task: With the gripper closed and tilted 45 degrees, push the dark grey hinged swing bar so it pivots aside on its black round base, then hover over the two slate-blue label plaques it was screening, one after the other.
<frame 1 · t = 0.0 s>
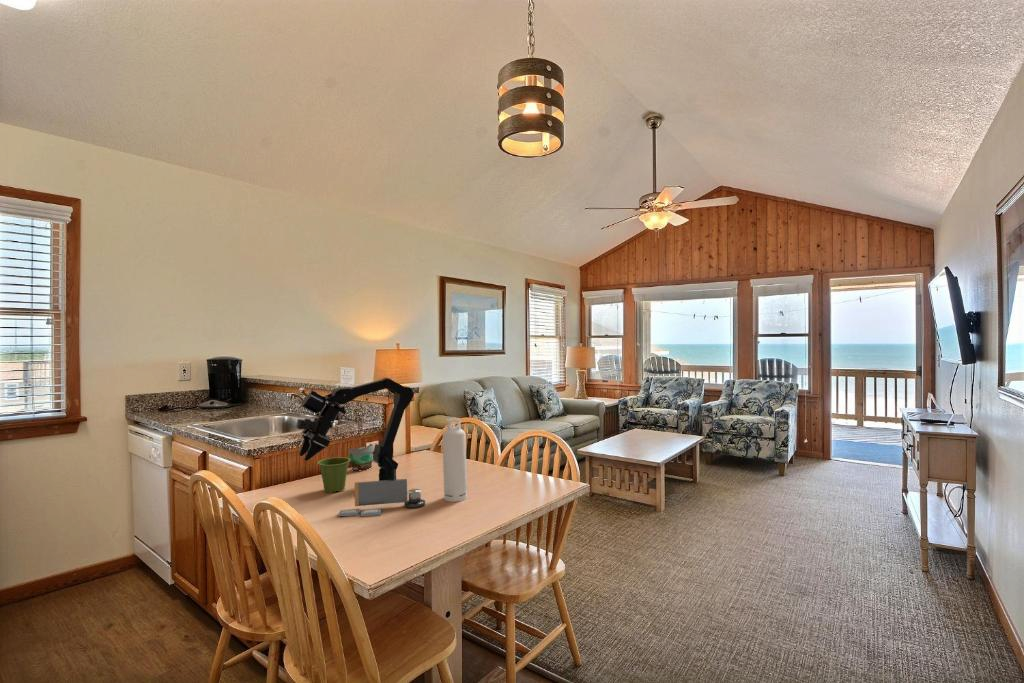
hand: (302, 458, 180), 15 cm above the table, tool tilted 35°, fingers open, 9 cm apart
label plaque a: (371, 514, 162), on the table
swing bar: (388, 492, 169), point 5 cm above the table, hinge at 0.0°
label plaque b: (349, 514, 163), on the table
plant pot: (334, 490, 190), on the table
bottle: (455, 498, 177), on the table
food container: (364, 469, 220), on the table
pivot base: (414, 505, 170), on the table
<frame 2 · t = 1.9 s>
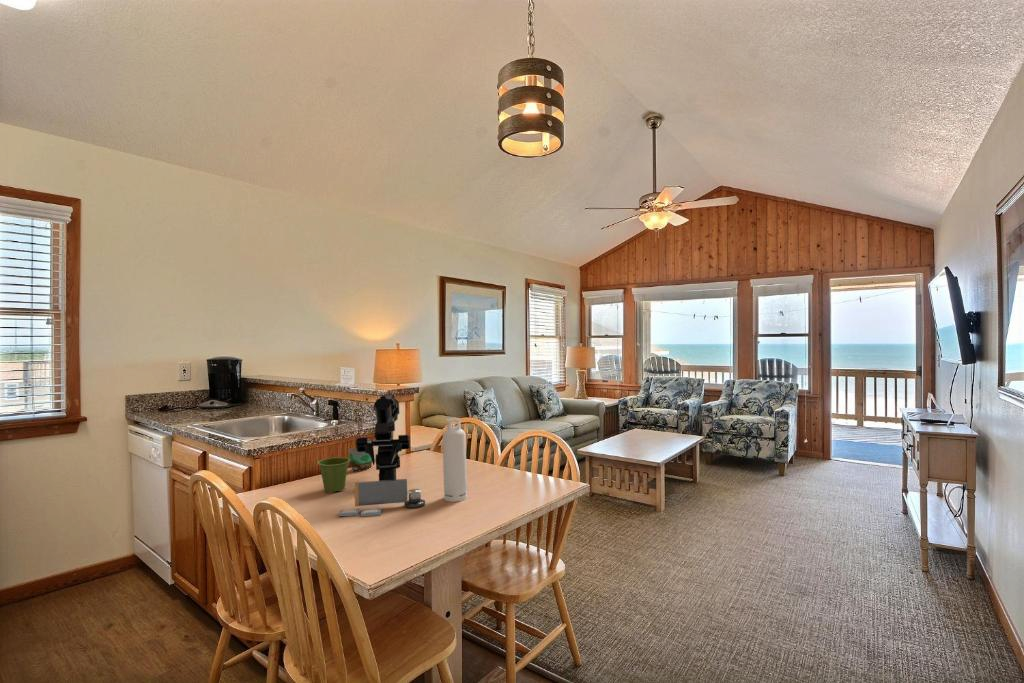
hand: (382, 463, 174), 14 cm above the table, tool tilted 45°, fingers open, 6 cm apart
nothing on the table moved.
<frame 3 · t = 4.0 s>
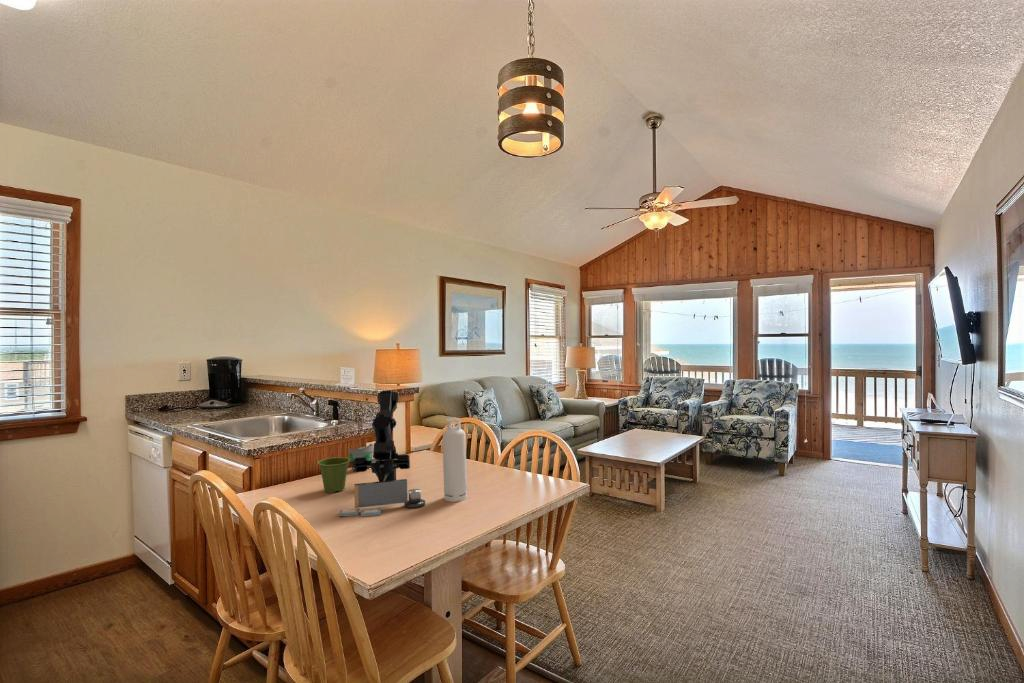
hand: (381, 484, 168), 8 cm above the table, tool tilted 45°, fingers closed, pressing on swing bar
swing bar: (388, 492, 168), point 5 cm above the table, hinge at 5.6°, touching gripper
everything else where it was.
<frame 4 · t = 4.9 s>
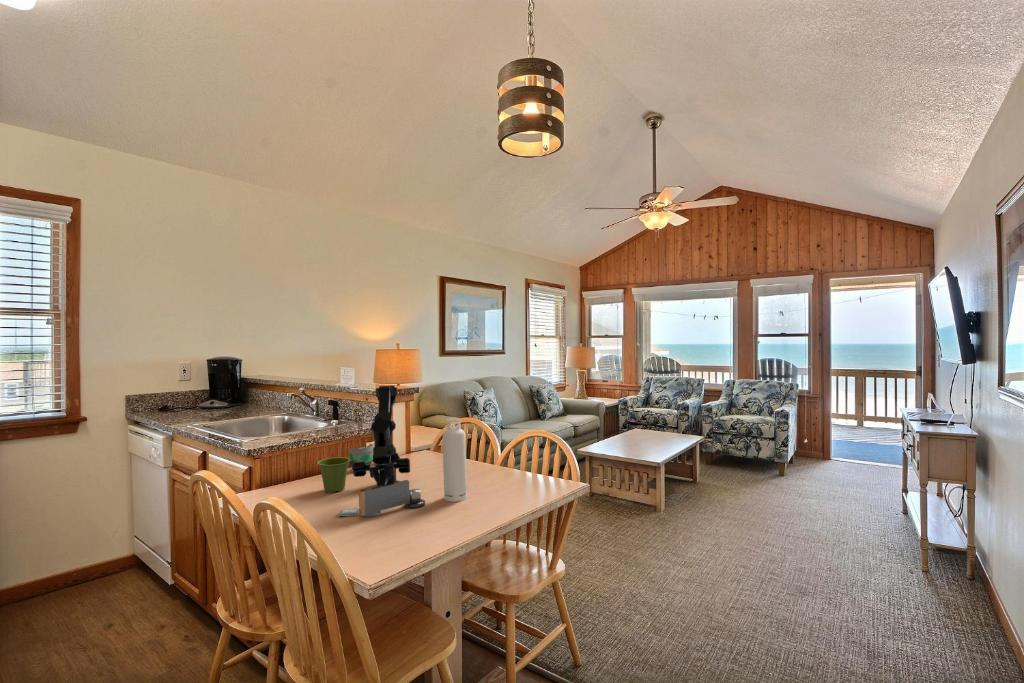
hand: (381, 490, 164), 7 cm above the table, tool tilted 45°, fingers closed
swing bar: (391, 495, 164), point 5 cm above the table, hinge at 31.3°, touching gripper
everything else where it was.
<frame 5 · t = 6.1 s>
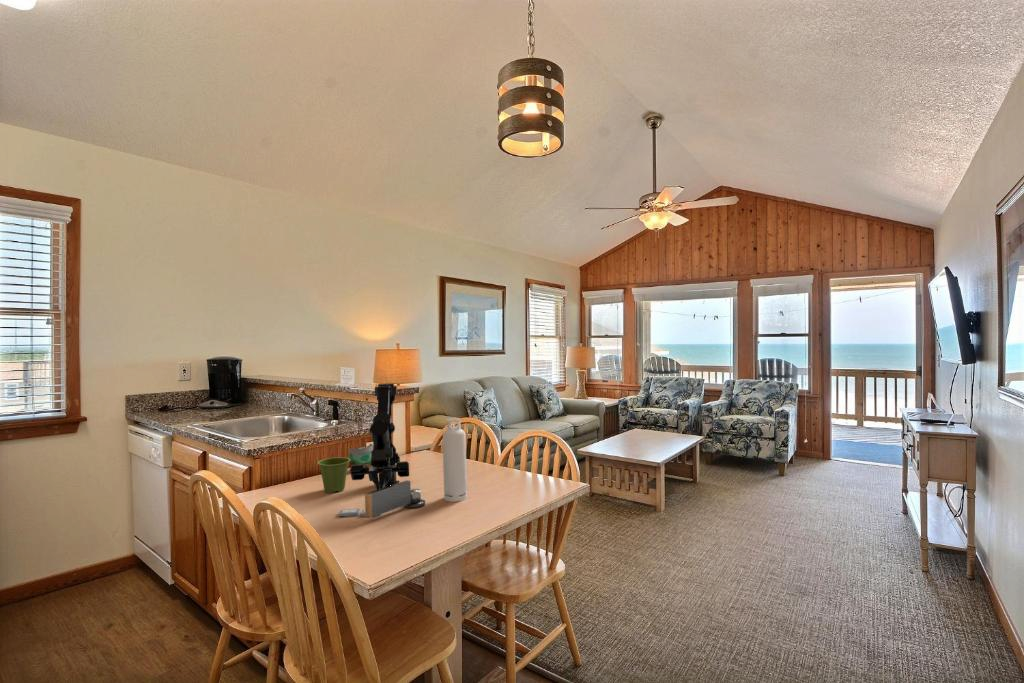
hand: (379, 494, 160), 7 cm above the table, tool tilted 45°, fingers closed
swing bar: (394, 496, 163), point 5 cm above the table, hinge at 43.2°, touching gripper
everything else where it was.
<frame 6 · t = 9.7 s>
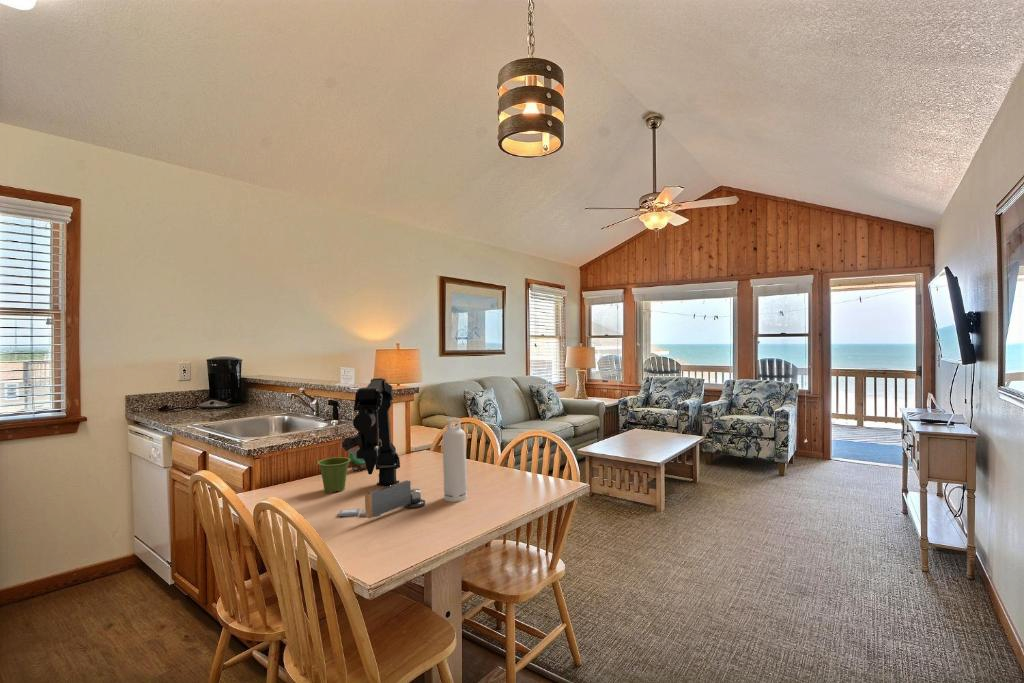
hand: (370, 474, 162), 13 cm above the table, tool pointing down, fingers closed
swing bar: (394, 496, 163), point 5 cm above the table, hinge at 43.2°
everything else where it was.
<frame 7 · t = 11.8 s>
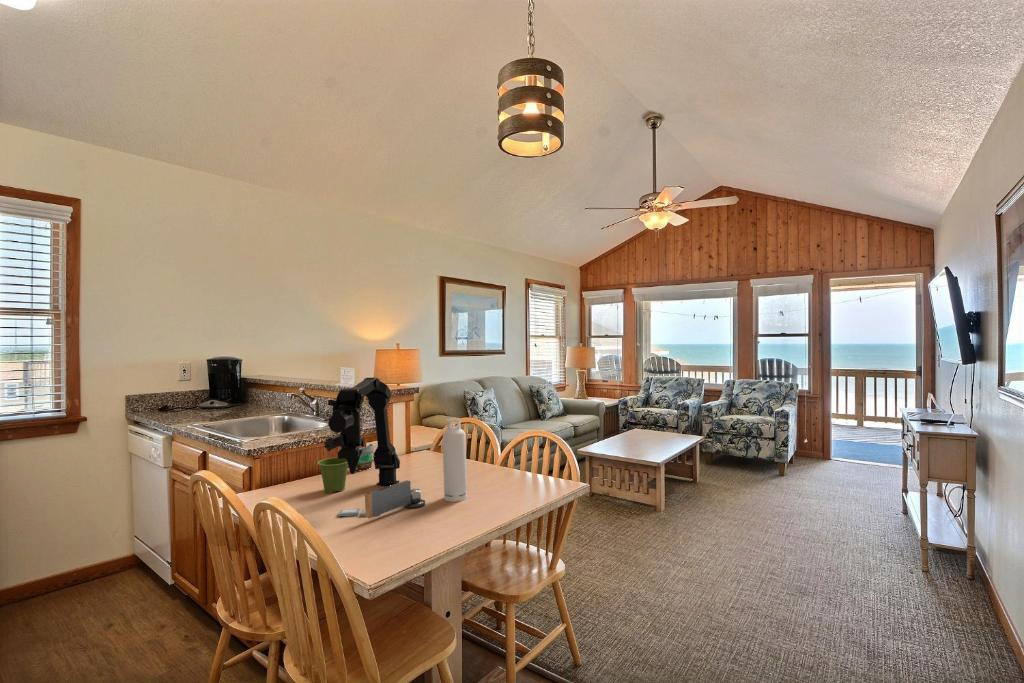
hand: (352, 473, 164), 13 cm above the table, tool pointing down, fingers closed
nothing on the table moved.
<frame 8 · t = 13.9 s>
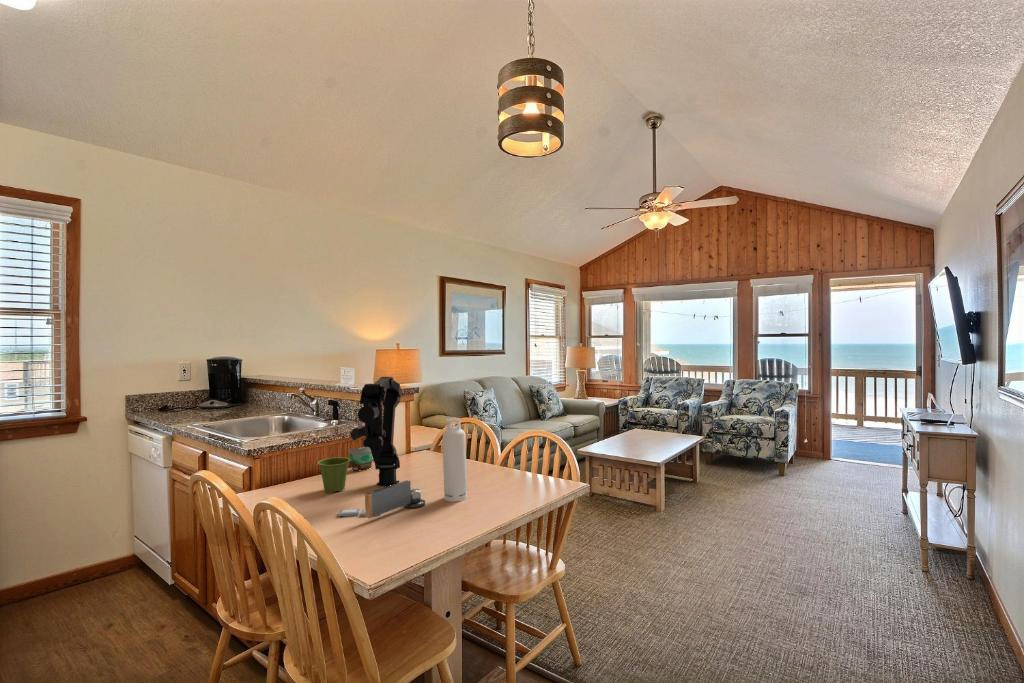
hand: (375, 461, 180), 13 cm above the table, tool pointing down, fingers closed
nothing on the table moved.
at the end: swing bar at +43° (first picture: +0°) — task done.
